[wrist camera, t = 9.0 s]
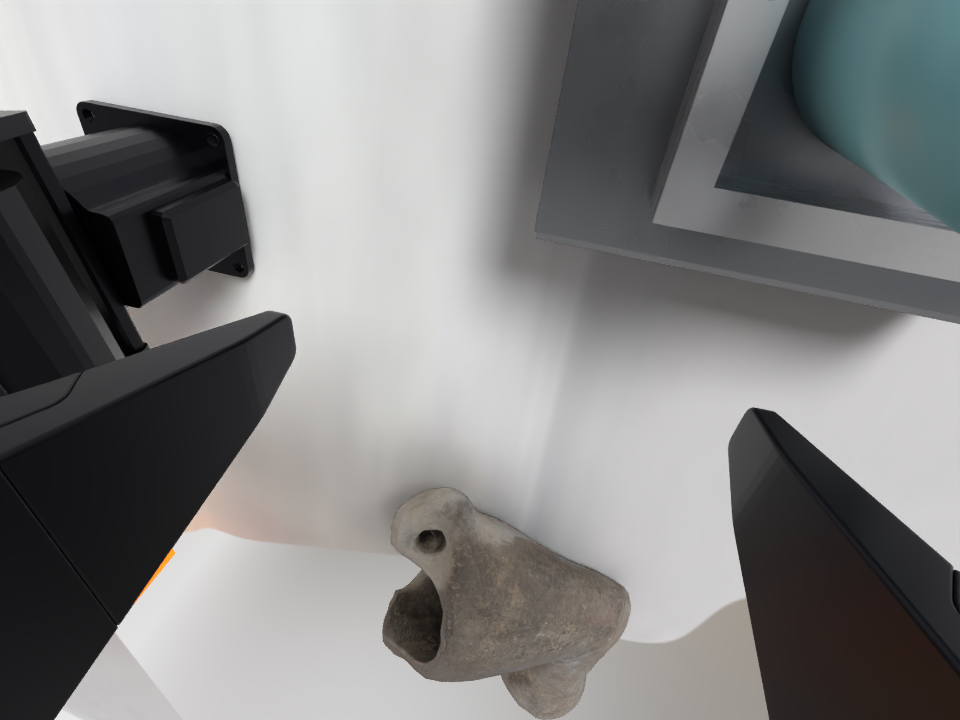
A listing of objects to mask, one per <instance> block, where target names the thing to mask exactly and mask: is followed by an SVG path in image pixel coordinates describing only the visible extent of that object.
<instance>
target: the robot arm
mask: <svg viewBox="0 0 960 720" xmlns="http://www.w3.org/2000/svg"><path fill="white" fill-rule="evenodd" d="M76 109H77V114H78V117H79V119H80V122H81V125H82V128H83V131H84V134H85V135H84V136H80V137H76V138H72V139H67V140H63V141H59V142H55V143H51V144H46V145H42V146H40V144H39V142H38V140H37V138H36V136H35V135H34V133H33V132H34V131H36V129H35V127H34V125H33V123H32V121H31V119H30V117H29V115H28V113H27V112H26V111H0V720H54V719H55V718H56V716H57V715H58V713H59V712H60V711H61V709H62V708H63V706H64V705H65V703H66V702H67V700H68V699H69V698H70V696H71V695H72V693H73V692H74V690H75V689H76V687H77V686H78V685H79V683H80V682H81V680H82V679H83V677H84V676H85V674H86V673H87V672H88V670H89V669H90V667H91V666H92V664H93V663H94V661H95V660H96V658H97V657H98V656H99V654H100V653H101V651H102V650H103V648H104V647H105V645H106V644H107V643H108V641H109V640H110V638H111V637H112V635H113V634H114V632H115V631H116V629H117V628H118V627H117V625H119V624H120V623H121V622H122V620H123V619H124V617H125V616H126V614H127V613H128V612H129V610H130V609H131V607H132V605H133V604H134V603H135V601H136V600H137V599H138V597H139V596H140V594H141V593H142V591H143V590H144V588H145V587H146V586H147V584H148V583H149V581H150V580H151V578H152V577H153V575H154V574H155V573H156V571H157V570H158V568H159V567H160V565H161V564H162V562H163V561H164V560H165V558H166V557H167V555H168V554H169V552H170V551H171V549H172V548H173V546H174V545H175V543H176V542H177V541H178V539H179V538H180V536H181V535H182V533H183V532H184V531H185V529H186V528H187V526H188V525H189V523H190V522H191V520H192V519H193V518H194V516H195V515H196V513H197V512H198V510H199V509H200V507H201V506H202V504H203V503H204V502H205V500H206V499H207V497H208V496H209V494H210V493H211V491H212V490H213V489H214V487H215V486H216V484H217V483H218V481H219V480H220V478H221V477H222V476H223V474H224V473H225V471H226V470H227V468H228V467H229V465H230V464H231V463H232V461H233V460H234V458H235V457H236V455H237V454H238V452H239V451H240V449H241V448H242V447H243V445H244V444H245V442H246V441H247V439H248V438H249V436H250V435H251V434H252V432H253V431H254V429H255V428H256V426H257V425H258V423H259V422H260V420H261V419H262V417H263V415H264V414H265V412H266V410H267V409H268V407H269V405H270V403H271V401H272V399H273V397H274V395H275V394H276V392H277V390H278V388H279V386H280V384H281V382H282V380H283V379H284V377H285V375H286V373H287V371H288V369H289V367H290V365H291V364H292V362H293V360H294V357H295V354H296V344H295V338H294V332H293V326H292V321H291V318H290V317H289V316H288V315H287V314H284V313H279V312H274V311H266V312H263V313H260V314H257V315H254V316H251V317H248V318H245V319H241V320H238V321H235V322H232V323H229V324H226V325H223V326H220V327H217V328H214V329H211V330H208V331H205V332H201V333H198V334H195V335H192V336H189V337H186V338H183V339H180V340H177V341H174V342H171V343H168V344H165V345H161V346H158V347H155V348H152V349H150V348H149V346H148V344H147V343H144V342H143V340H142V339H141V337H140V335H139V333H138V331H137V329H136V327H135V325H134V323H133V321H132V319H131V318H130V316H129V314H128V312H127V310H126V307H128V306H130V307H135V308H141V307H142V306H144V305H145V304H147V303H149V302H150V301H152V300H153V299H155V298H157V297H158V296H160V295H161V294H163V293H165V292H166V291H168V290H169V289H171V288H173V287H174V286H176V285H177V284H179V283H182V284H184V283H187V282H189V281H190V280H192V279H193V278H195V277H197V276H198V275H200V274H201V273H203V272H204V271H206V270H210V271H215V272H219V273H224V274H228V275H232V276H237V277H246V276H248V275H249V274H250V273H252V272H253V270H254V265H253V260H252V254H251V249H250V243H249V236H248V230H247V225H246V219H245V214H244V208H243V203H242V197H241V192H240V187H239V183H238V177H237V172H236V166H235V160H234V155H233V149H232V144H231V139H230V136H229V134H228V132H227V131H226V129H224V128H223V127H222V126H221V125H218V124H215V123H210V122H204V121H199V120H194V119H189V118H183V117H178V116H173V115H167V114H162V113H157V112H152V111H146V110H141V109H136V108H130V107H125V106H120V105H115V104H109V103H104V102H99V101H93V100H89V101H83V102H79V103H78V104H77V108H76ZM91 112H92V114H93V115H92V114H91ZM93 116H94V117H93ZM213 134H215V135H216V136H217V138H218V140H219V143H217V142H216V141H215V139H214V137H213ZM239 263H240V264H241V265H242V266H243V268H242V267H241V266H240V265H239ZM728 456H729V473H730V490H731V507H732V519H733V527H734V533H735V539H736V544H737V550H738V555H739V560H740V566H741V571H742V576H743V582H744V587H745V592H746V598H747V602H748V608H749V613H750V619H751V624H752V629H753V635H754V640H755V646H756V651H757V656H758V662H759V667H760V672H761V678H762V683H763V688H764V693H765V698H766V704H767V710H768V715H769V720H960V571H958V570H953V566H952V565H951V564H950V563H949V562H948V561H947V560H945V559H944V558H943V557H942V556H941V555H940V554H939V553H937V552H936V551H935V550H934V549H933V548H932V547H930V546H929V545H928V544H927V543H926V542H925V541H924V540H922V539H921V538H920V537H919V536H918V535H917V534H915V533H914V532H913V531H912V530H911V529H910V528H909V527H907V526H906V525H905V524H904V523H903V522H902V521H900V520H899V519H898V518H897V517H896V516H895V515H894V514H892V513H891V512H890V511H889V510H888V509H887V508H885V507H884V506H883V505H882V504H881V503H880V502H879V501H877V500H876V499H875V498H874V497H873V496H872V495H870V494H869V493H868V492H867V491H866V490H865V489H864V488H862V487H861V486H860V485H859V484H858V483H857V482H855V481H854V480H853V479H852V478H851V477H850V476H849V475H847V474H846V473H845V472H844V471H843V470H842V469H840V468H839V467H838V466H837V465H836V464H835V463H833V462H832V461H831V460H830V459H829V458H828V457H827V456H825V455H824V454H823V453H822V452H821V451H820V450H818V449H817V448H816V447H815V446H814V445H813V444H812V443H810V442H809V441H808V440H807V439H806V438H805V437H803V436H802V435H801V434H800V433H799V432H798V431H797V430H795V429H794V428H793V427H792V426H791V425H790V424H788V423H787V422H786V421H785V420H784V419H783V418H782V417H780V416H779V415H778V414H777V413H776V412H773V411H769V410H764V409H759V408H750V409H748V410H747V411H746V413H745V414H744V416H743V418H742V419H741V421H740V423H739V424H738V426H737V428H736V430H735V431H734V433H733V435H732V437H731V439H730V442H729V446H728Z"/></svg>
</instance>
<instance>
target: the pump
mask: <svg viewBox="0 0 960 720" xmlns="http://www.w3.org/2000/svg"><path fill="white" fill-rule="evenodd" d="M792 82H793V89H794V95H795V99H796V102H797V105H798V109H799V111H800V113H801V115H802V117H803V119H804V121H805V123H806V124H807V126H808V127H809V128H810V130H811V131H812V132H813V134H814V135H815V136H817V137H818V138H819V139H820V140H821V141H822V142H823V143H824V144H826V145H827V146H829V147H830V148H832V149H833V150H835V151H836V152H838V153H839V154H841V155H842V156H844V157H845V158H847V159H848V160H850V161H851V162H853V163H854V164H856V165H857V166H858V167H860V168H861V169H863V170H864V171H866V172H867V173H869V174H870V175H872V176H873V177H875V178H876V179H878V180H879V181H881V182H882V183H884V184H885V185H887V186H888V187H890V188H891V189H893V190H894V191H896V192H897V193H899V194H900V195H902V196H903V197H905V198H906V199H908V200H909V201H911V202H912V203H914V204H915V205H917V206H918V207H920V208H921V209H923V210H924V211H926V212H927V213H929V214H930V215H932V216H933V217H934V218H936V219H937V220H939V221H940V222H942V223H943V224H945V225H946V226H948V227H949V228H951V229H952V230H954V231H955V232H957V233H958V234H960V0H810V1H809V3H808V5H807V7H806V10H805V13H804V16H803V18H802V21H801V24H800V26H799V30H798V34H797V38H796V42H795V47H794V54H793V62H792Z"/></svg>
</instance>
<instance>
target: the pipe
mask: <svg viewBox="0 0 960 720" xmlns="http://www.w3.org/2000/svg"><path fill="white" fill-rule="evenodd" d="M391 544H392V545H393V546H394V547H395V549H396V550H397V551H398V552H399V553H401V554H402V555H404V556H405V557H407V558H408V559H410V560H411V561H412V562H413V563H415V564H416V565H417V566H419V567H420V568H421V569H422V570H421V571H420V573H419V574H418V575H417V576H416V577H415V578H414V579H413V580H412V581H411V582H410V583H409V584H408V585H407V586H406V587H404V588H402V589H399V590H396V591H395V593H394V596H393V598H392V600H391V601H390V604H389V607H388V611H387V614H386V616H385V619H384V623H383V632H382V633H383V642H384V644H385V645H386V646H387V647H388V648H389V649H390V650H391V651H392V652H393V654H395V655H397V656H399V657H401V658H403V659H405V660H406V661H407V662H408V663H409V664H410V665H411V666H412V667H413V668H414V669H415V670H416V671H417V672H418V673H419V674H421V675H422V676H423V677H424V678H426V679H431V680H435V681H441V682H462V681H473V680H479V679H483V678H488V677H492V676H497V675H501V677H502V680H503V681H504V683H505V685H506V687H507V689H508V691H509V692H510V694H511V695H512V697H513V698H514V699H515V701H516V702H517V704H518V705H519V706H520V707H522V708H523V709H525V710H526V711H528V712H529V713H531V714H532V715H533V716H534V717H536V718H539V719H543V720H545V719H546V720H547V719H555V718H560V717H562V716H564V715H565V714H567V713H568V712H570V711H571V710H572V709H573V708H574V707H575V706H576V705H577V704H578V702H579V700H580V698H581V696H582V693H583V691H584V687H585V681H586V675H587V674H588V672H589V671H590V670H591V669H592V668H593V667H594V665H595V664H596V663H597V662H598V661H599V660H600V659H601V658H602V657H603V656H604V655H605V653H606V652H607V651H608V650H609V649H610V648H611V647H612V646H613V645H614V644H615V643H616V642H617V641H618V639H619V638H620V637H621V635H622V634H623V632H624V630H625V628H626V626H627V622H628V618H629V615H630V611H631V604H630V599H629V594H628V592H627V591H626V589H625V588H624V587H623V586H621V585H620V584H618V583H617V582H615V581H613V580H611V579H610V578H608V577H606V576H604V575H602V574H600V573H598V572H596V571H593V570H591V569H588V568H585V567H583V566H580V565H578V564H576V563H573V562H571V561H569V560H567V559H565V558H563V557H561V556H559V555H557V554H555V553H553V552H552V551H550V550H548V549H546V548H544V547H543V546H541V545H539V544H537V543H536V542H534V541H533V540H531V539H530V538H528V537H527V536H525V535H524V534H522V533H521V532H519V531H518V530H516V529H514V528H513V527H511V526H509V525H508V524H506V523H504V522H502V521H500V520H498V519H496V518H494V517H490V516H487V515H484V514H481V513H479V512H478V511H476V509H475V508H474V507H473V505H472V504H471V502H470V501H469V499H468V498H467V496H466V495H464V494H463V493H461V492H459V491H457V490H456V489H452V488H436V489H430V490H427V491H425V492H422V493H419V494H417V495H415V496H413V497H411V498H410V499H409V500H408V501H406V502H405V503H404V504H403V505H401V506H400V508H399V509H398V511H397V512H396V514H395V517H394V520H393V523H392V525H391Z"/></svg>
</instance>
